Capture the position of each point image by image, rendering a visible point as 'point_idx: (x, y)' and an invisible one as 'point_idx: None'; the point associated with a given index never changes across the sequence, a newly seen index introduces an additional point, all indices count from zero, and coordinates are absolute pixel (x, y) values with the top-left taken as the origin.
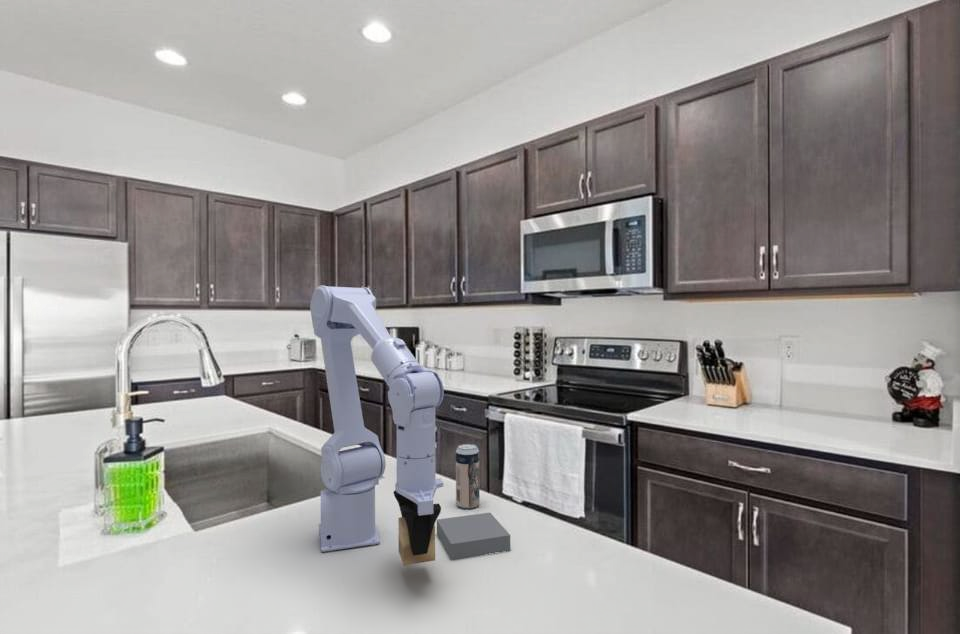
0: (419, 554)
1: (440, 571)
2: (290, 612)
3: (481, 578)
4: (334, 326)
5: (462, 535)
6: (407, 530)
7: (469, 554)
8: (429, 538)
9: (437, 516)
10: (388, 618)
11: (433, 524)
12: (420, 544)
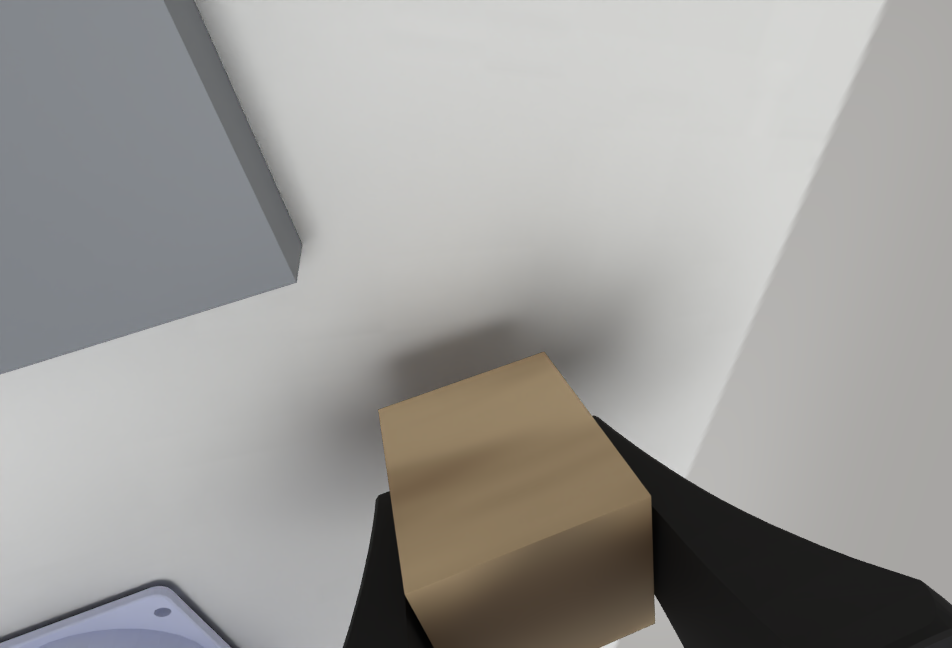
0: None
1: (423, 289)
2: None
3: (515, 63)
4: None
5: (117, 203)
6: (653, 605)
7: (246, 129)
8: (661, 465)
9: (870, 565)
10: (689, 406)
11: (771, 526)
12: None
